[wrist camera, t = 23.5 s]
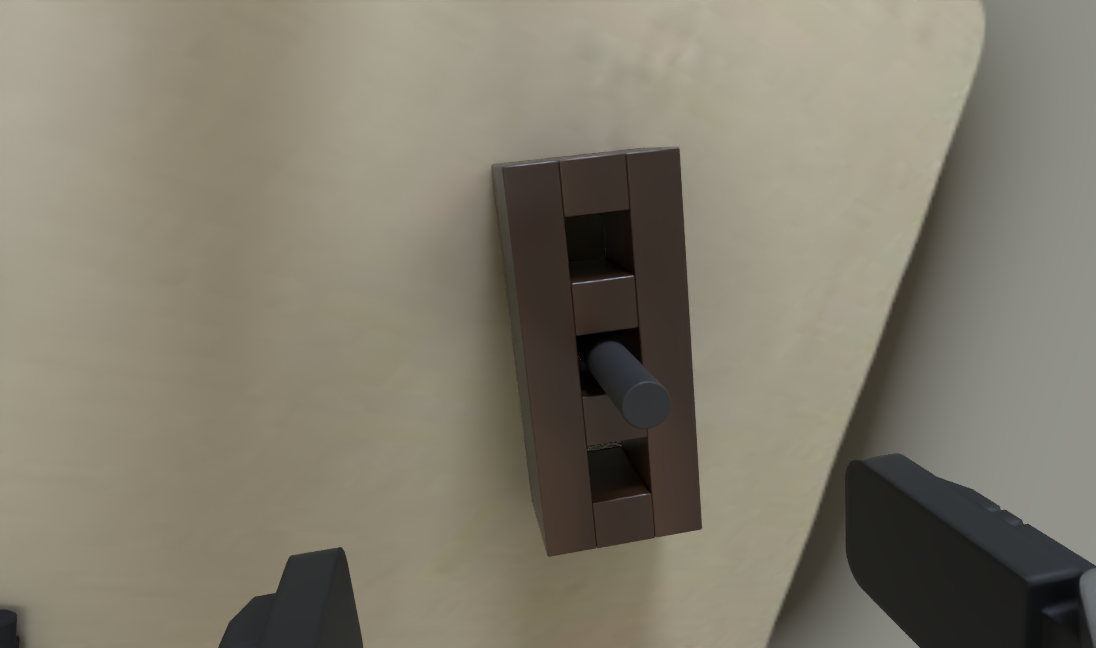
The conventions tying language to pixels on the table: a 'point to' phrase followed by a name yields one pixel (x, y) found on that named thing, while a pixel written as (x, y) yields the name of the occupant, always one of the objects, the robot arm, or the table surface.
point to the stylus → (624, 380)
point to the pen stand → (594, 307)
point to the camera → (8, 629)
